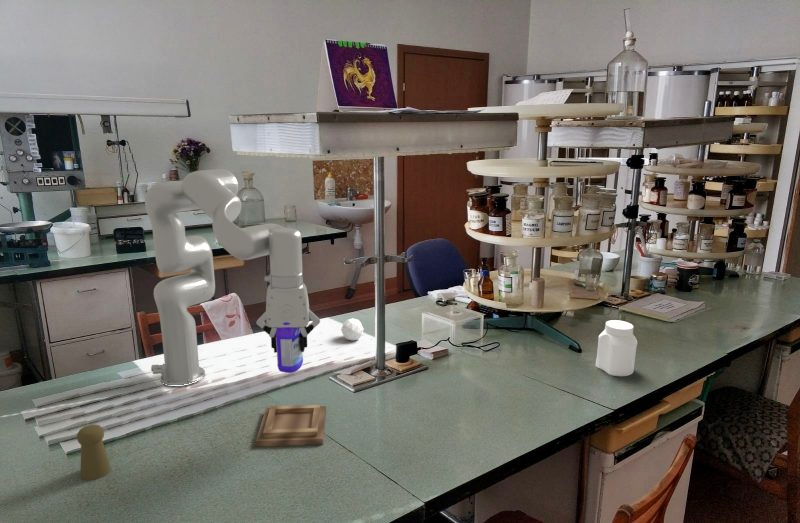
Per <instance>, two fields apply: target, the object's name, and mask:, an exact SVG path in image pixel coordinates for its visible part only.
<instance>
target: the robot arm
mask: <svg viewBox="0 0 800 523" xmlns="http://www.w3.org/2000/svg"><path fill="white" fill-rule="evenodd" d="M238 191H239V182H238V179H237V178H236V176H235V175H234V174H233V173H232V172H231V171H229V170H228V169H226V168H225V169H224V168H216V169H215V168H214V169H205V170H204V169H203V170H194V171H192V172H190V173H188V174H187V175H185V177H184V178H183V179H182V180H174V181H165V182H160V183H156V184H153V185H152V186H150V187H149V188H148V189H147V190H146V193H145V196H144V206H145V210H146V213H147V216H148V219H149V221H150V224H151V229H152V239H153V245H154V246H153V248H154V254H155V261H156V266H157V269H158V270H159V272H161V273H162V274H166V275H169V274H177V273H181V272H185V271H190V272H187V273H185V274H179V275H176V276H173V277H168V278H167V277H166V278H164V279H162V280H161V281H159V282H158V283H156V285H155V287H154V289H153V298H154V302H155V304H156V307H157V311H158V317H159V323H160V329H161V339H162V340H161V341H162V349H163V360H164V363H162V364H151V367H150V370H151V371H150V372H152V374H153V375H158V374H160V383H161V382H162V383H164V384H167V385H184V384H189V383H192V382H195V381H197V380H199V379H201V378H202V377H204V375H205V376H206V371H205V369H204V368H202V367H201V366H200V363H199V362H200V361H199V351H198V339H197V338H198V337H197V336H198V335H197V327H196V326H197V325H196V320H195V318H194V316H193V315H192V314H191V313H190V312H189V311H188V308H189V307H192V306H194V305H198V304H201V303H206V302H207V301H210V300H211V299H212V298H213V297H214V296H215V292H216V279H215V278H216V277H215V268H214V256H213V251H212V247H211V246H210V243H209V242H208V241H207V239H206V238H205V237H203V236H200V235H190V236H186V226H185V223H184V221H183V219H182V218H181V217H180V216H179V214H177V213H182V212H190V211H196V210H201V211H202V212H203V213H204V214H205V215H207V216H208V217H209V218H210V219H212V230H213V235H214V237H215V240H216V241H217V243H218V244H219V245H220V246H221V247H222V248H223V249H224V250H225V251H226V252H227V253H229V254H230V255H231V256H233V257H234V258H236V259H238V260H241V261H248V260H253V259H256V258H262V257H266V256H269V269H270V272H269V273H270V274H268V275H264V282H268V283H269V285H268V286H267V289H266V290H267V291H266V296H265V297H266V298H265V299H266V300H265V301H266V302H265V312H264V313H263V314H262V315H261V316H260V317H259V318H258V319H257V320H256V322H255V323H256V325H257V326H259V327H260V328H261V329H262V330H263V331H264V332H265V334H268V336H269V338H270V341H271V342H270V345H271V346H270V347H271V349H273V352H274V353H275V354H277V346H276V329H277V328H285V327H287V328H299V329H300V331H301V333H302V334H301V338H300V340H301V352H303V353H304V352H305V350H306V349H305V348H308V335H309V334H310V333H311V332H312V331H313V330H314V329H315V328H316V327H317V326H318V325H319V324H320V323H321V319H320V318H319V317H318V316H317V315H316V314H315V313H314V312H313V311H312V310H311V309H310V303H309V296H308V294H309V293H308V289H307V286H306V284H305V283H304V280H303V279H304V276H303V249H302V248H303V245H302V243H303V242H302V241H303V240H302V234H301V232H300V231H299V230H298V229H296V228H290V227H284V226H282V225H280V224H277V223H271V222H270V223H269V222H268V223H264V224H257V225H253V226H247V227H243V228H241V227H239V226H237V225H236V224H235V223H234V221H235V220H236V219H237V218H238V216H239V215H240V214H241V210H242V207H243V206H242V201H241V199H240V197H239V196H238V195H237V194H238ZM310 320H311V321H312V322H311V323H309V322H310ZM285 322H288V323H290V324H289V325H284V324H283V323H285ZM204 378H205V377H204ZM162 383H161V384H162ZM164 384H163V385H164Z"/></svg>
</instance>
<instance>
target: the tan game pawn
mask: <svg viewBox="0 0 800 523" xmlns="http://www.w3.org/2000/svg"><path fill="white" fill-rule="evenodd" d="M104 436H105V431H104V429H103V427H102V426H101V425H100V424H88V425H86V426H84V427H82V428H80V429H79V430H78V431H77V434H76V438H77V442H78V444H79V445H80V478H81V479H82V480H84V481H96V480H99V479H101V478H103V477H105V476H106V475H108V474H109V473H110V471H111V469H112V467H111V465H110V461H109V458H108V455H107V452H106V448H105V445H104V442H103V439H104Z"/></svg>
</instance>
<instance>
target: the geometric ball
mask: <svg viewBox="0 0 800 523" xmlns="http://www.w3.org/2000/svg"><path fill="white" fill-rule="evenodd" d="M364 330H365V329H364V327H363V325H362V322H361V321H360V320H359V319H356V318H353V317H352V318H349V319H346V320H345V321H344V322H343V324H342V326H341V333H342V335H343V337H344V338H345V340H348V341H352V342H353V341H357V340H359V339H360V338H361V337H362V335H363V332H364Z"/></svg>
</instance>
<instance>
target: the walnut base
mask: <svg viewBox="0 0 800 523" xmlns="http://www.w3.org/2000/svg"><path fill="white" fill-rule="evenodd" d="M326 414H327V406H326V405H320V404H308V405H305V404H304V405H303V404H302V405H301V404H300V405H299V404H298V405H271V406H269V407H265V411H264V413H263V417H262V419H261V423H260V426H259V430H258V433H257V437H256V440H255V445H256V447H279V446H281V447H283V446H285V447H286V446H306V445H305V444H317V445H323V444H324V439H323V438H324V437H325V428H326V427H325V426H326Z"/></svg>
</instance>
